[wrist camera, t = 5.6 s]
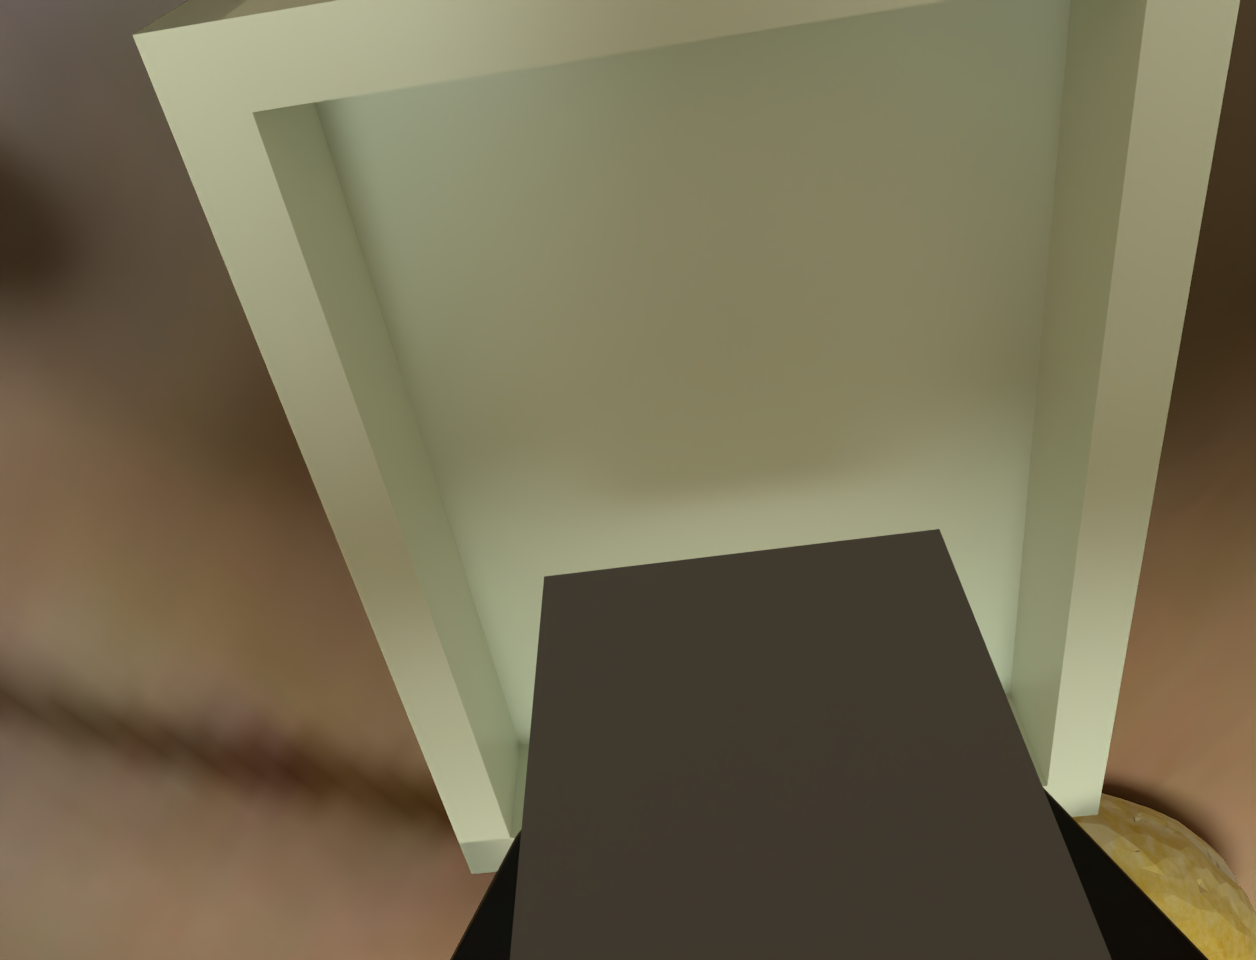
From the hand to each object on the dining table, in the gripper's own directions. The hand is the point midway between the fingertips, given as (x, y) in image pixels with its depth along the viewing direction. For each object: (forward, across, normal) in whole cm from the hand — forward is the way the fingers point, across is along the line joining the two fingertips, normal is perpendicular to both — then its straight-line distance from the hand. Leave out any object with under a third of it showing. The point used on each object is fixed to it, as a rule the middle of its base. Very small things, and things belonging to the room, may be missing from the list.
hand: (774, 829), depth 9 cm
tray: (+6, 0, 0) cm, 7 cm away
